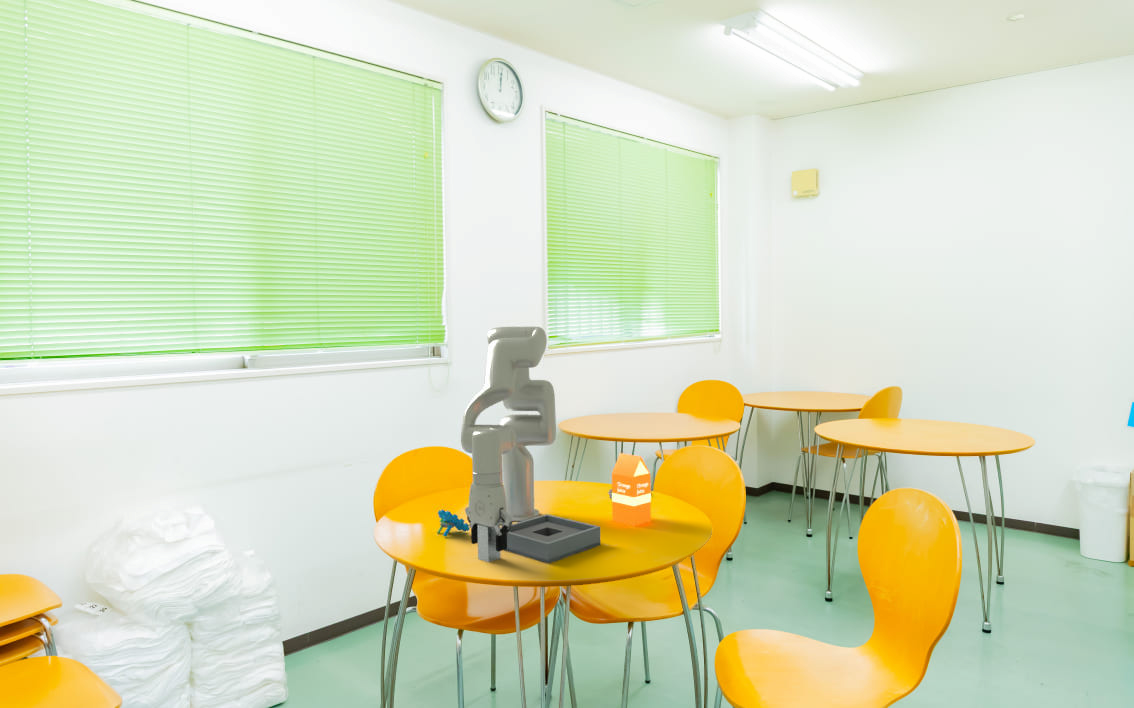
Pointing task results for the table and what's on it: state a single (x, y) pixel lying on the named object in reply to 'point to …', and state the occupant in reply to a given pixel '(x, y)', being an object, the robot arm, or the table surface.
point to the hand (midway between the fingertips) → (489, 546)
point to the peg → (487, 543)
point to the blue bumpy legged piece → (451, 522)
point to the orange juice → (631, 491)
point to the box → (551, 538)
